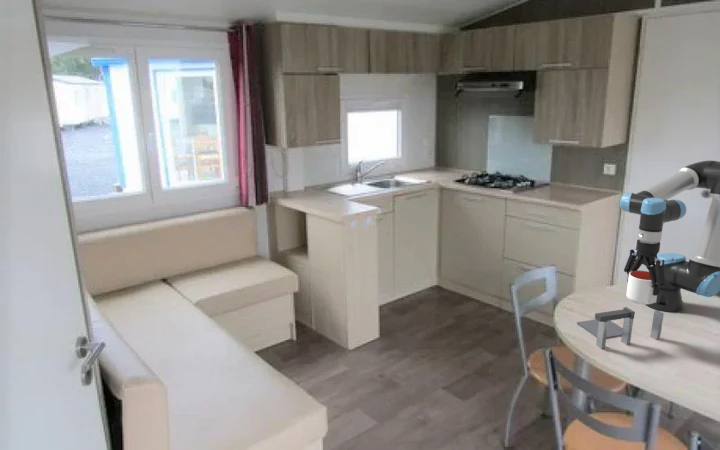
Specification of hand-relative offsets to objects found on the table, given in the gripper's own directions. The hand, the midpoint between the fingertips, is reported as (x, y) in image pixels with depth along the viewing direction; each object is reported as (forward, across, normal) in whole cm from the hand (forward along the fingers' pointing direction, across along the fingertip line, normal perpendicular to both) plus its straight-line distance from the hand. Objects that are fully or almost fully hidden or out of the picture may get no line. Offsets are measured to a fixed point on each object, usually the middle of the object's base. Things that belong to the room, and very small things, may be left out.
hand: (641, 296), depth 197 cm
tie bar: (+7, +1, -13) cm, 14 cm away
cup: (+2, 0, 0) cm, 2 cm away
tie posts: (+18, +2, -5) cm, 18 cm away
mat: (+18, -10, -6) cm, 21 cm away
